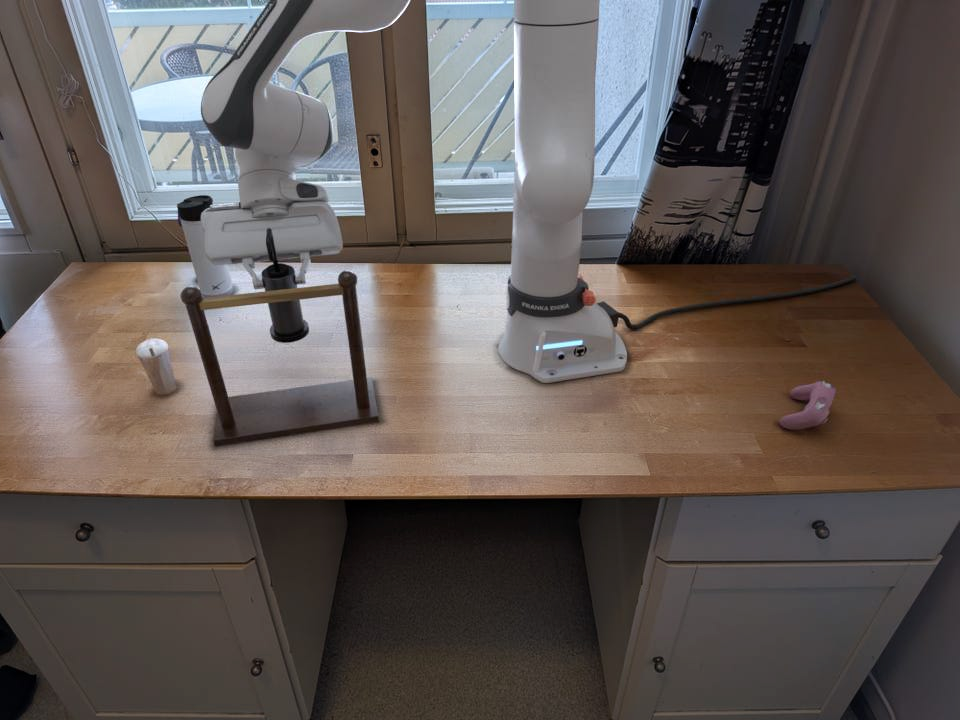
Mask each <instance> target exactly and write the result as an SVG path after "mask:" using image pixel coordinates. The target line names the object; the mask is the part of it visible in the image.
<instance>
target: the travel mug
mask: <svg viewBox="0 0 960 720" xmlns="http://www.w3.org/2000/svg"><path fill="white" fill-rule="evenodd" d="M211 205H214V200H213V197H212V196H210V195H207V194H200V195H194V196H190V197H187V198H185V199H183V201H180V202H179V203H177V204H176V208H177V213H178V212H179V215H180V220H181V224H182V227H181V228H182V231H183V235H184V238H185V241H186V246H187V249H188V253H189V256H190V260H191V264H192V267H193V271H194V274H195V278H196V282H197V286H198V289H199V290H200V291H201V293H202V298H208V297H218V296H227V295H233V293H234V290H235V289H234V285H233V280H232V277H231V272H230V268H229V265H220V266H215V265H214V264H212V263H211V262H210V261H209V260H208V259H207V257H206V255H205V247H204V238H205V232H204V231H203V229H202V227H201V214H202V212H203V211H204V210H205V209H207V208H210V206H211ZM207 212H211V211H207Z"/></svg>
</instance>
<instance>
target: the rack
mask: <svg viewBox="0 0 960 720" xmlns="http://www.w3.org/2000/svg"><path fill="white" fill-rule="evenodd" d="M357 284H358V276H357V274H356V273H355V272H354V271H352V270H349V269H347V270H346V269H345V270H343V271H341V272H340V273H339V275H338V277H337V283H331V284H322V285H312V286H303V287H297V288H293V289H283V290H274V291H265V290H264V291H256V292H248V293H247V292H246V293H237V294H230V295H227V296H218V297H208V298H203V297H202V293H201V291H200V288H199V287H196V286H193V285H190V286H186V287H185V288H183V289H182V290H181V292H180V300H181V302H182V303H183V304H184V305H185V308H186V312H187V314H188V315H187V316H188V318H189V321H190V325H191V328H192V332H193V336H194V339H195V342H196V345H197V348H198V349H197V350H198V352H199V356H200V359H201V362H202V366H203V368H204V372H205V375H206V378H207V379H206V380H207V382H208V386H209V389H210V392H211V395H212V399H213V402H214V405H215V406H214V407H215V410H216V415H215V423H214V430H213V437H212V442H213V445H214V447H219V446H225V445H233V444H239V443H245V442H246V443H247V442H253V441H260V440H266V439H267V440H268V439H272V438H280V437H286V436H293V435H301V434H306V433H313V432H321V431H327V430H334V429H339V428H347V427H353V426H359V425H367V424H373V423H379V422H380V418H379V417H380V416H379V411H378V406H377V405H378V404H377V400H376V393H375V389H374V383H373V378H372V377H367V367H366V360H365V351H364V343H363V335H362V325H361V318H360V309H359V302H358V301H359V300H358V292H357V291H358V290H357ZM336 296H341V297H342V302H343V303H342V305H343V311H344V319H345V328H346V333H347V334H346V335H347V342H348V350H349V356H350V363H351V364H350V365H351V373H352V378H353V379H351V380H344V381H336V382H329V383H320V384H314V385H307V386H300V387H292V388H291V387H290V388H283V389H278V390H277V389H276V390H269V391H262V392H255V393H254V392H253V393H248V394H240V395H233V396H229V394H228V391H227V387H226V384H225V380H224V376H223V373H222V369H221V366H220V363H219V362H220V361H219V359H218V354H217V351H216V347H215V344H214V341H213V337H212V333H211V329H210V326H209V323H208V319H207V316H206V312H205V311H209V310H216V309H227V308H235V307H245V306H254V305H262V304H268V303H273V302H282V301H291V300H300V301H301V300H309V299H316V298H326V297H336Z"/></svg>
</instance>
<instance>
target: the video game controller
mask: <svg viewBox="0 0 960 720" xmlns="http://www.w3.org/2000/svg"><path fill="white" fill-rule="evenodd" d="M836 392H837V389H836V388H835V387H834V386H833V385H832V384H830V383H827V382H825V380H823V381H816V382H813V383H809V384H804V385H799V386H796V387H794V388H792V390H791V391H790V396H791V398H792V399H794V400H796V401H804V402H807V401H809V402H808V403H807V404H806V405H805V407H804V409H803V410H801V411H799V412H795V413H790V414H786V415H784V416H782V417H781V418H780V420H779V424H780V426H781V428H784V429H787V430H792V431H798V430H804V429H808V428H811V427H812V428H813V427H817V426H819V425H823V424H826V423H827V421H828V416H829V414H830V407H831V405H832V403H833V401H834V399H835V394H836Z"/></svg>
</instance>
